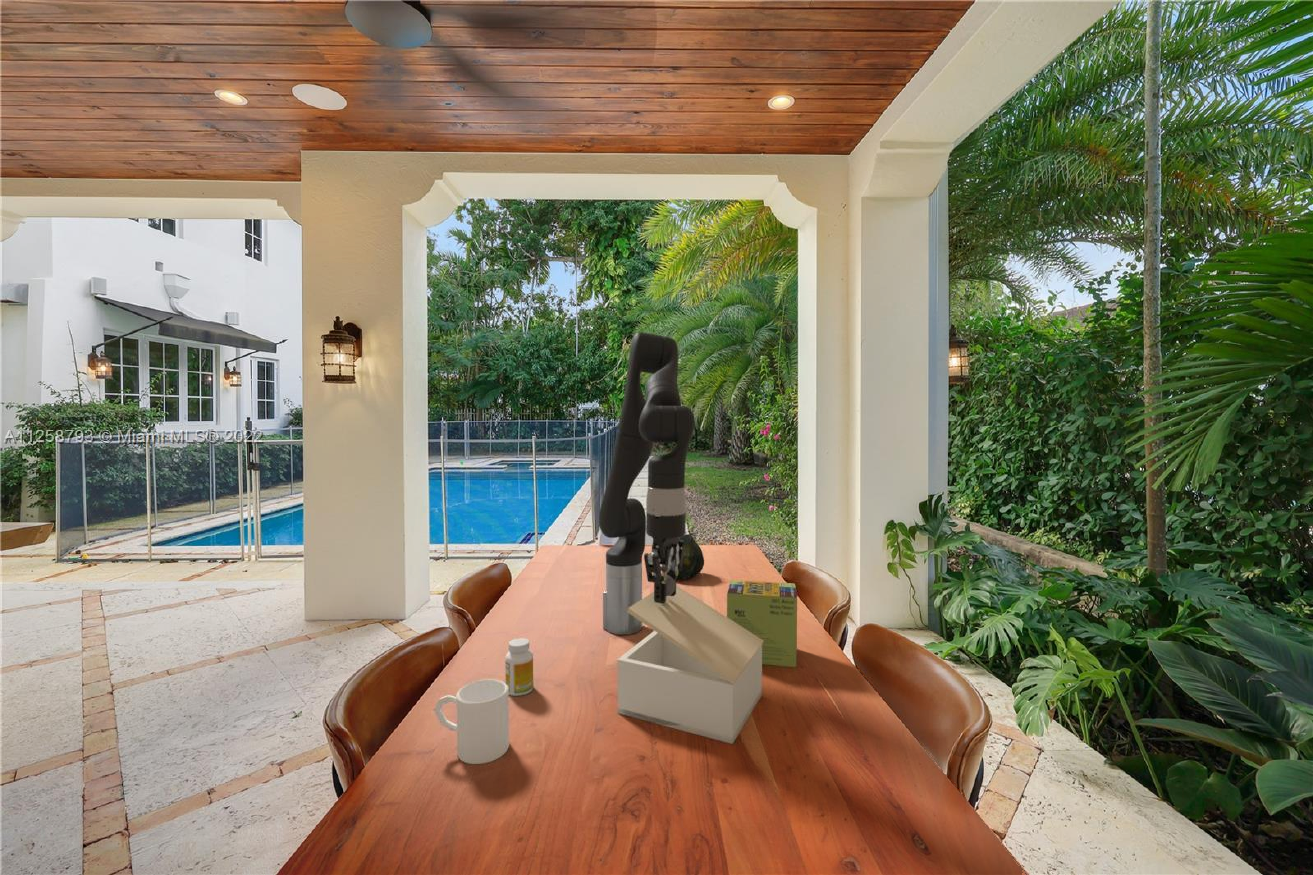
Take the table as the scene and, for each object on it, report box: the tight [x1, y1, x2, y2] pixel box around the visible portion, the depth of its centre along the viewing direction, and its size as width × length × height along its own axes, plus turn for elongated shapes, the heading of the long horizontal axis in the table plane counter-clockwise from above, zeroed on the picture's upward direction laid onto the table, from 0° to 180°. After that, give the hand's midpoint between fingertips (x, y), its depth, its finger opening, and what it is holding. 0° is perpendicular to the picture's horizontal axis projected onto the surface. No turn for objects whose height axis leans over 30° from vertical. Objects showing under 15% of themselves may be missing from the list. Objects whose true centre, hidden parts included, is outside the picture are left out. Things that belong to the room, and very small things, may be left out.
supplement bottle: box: [504, 637, 534, 697], centre depth 110 cm, size 5×5×10 cm
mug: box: [433, 678, 510, 765], centre depth 90 cm, size 8×12×10 cm
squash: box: [661, 533, 705, 580], centre depth 188 cm, size 14×15×15 cm
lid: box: [627, 575, 764, 684], centre depth 103 cm, size 22×18×6 cm
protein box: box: [726, 579, 798, 668], centre depth 126 cm, size 10×15×16 cm
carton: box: [616, 630, 763, 745], centre depth 104 cm, size 22×18×10 cm
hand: (665, 598), depth 106 cm, fingers closed on lid, 4 cm apart
